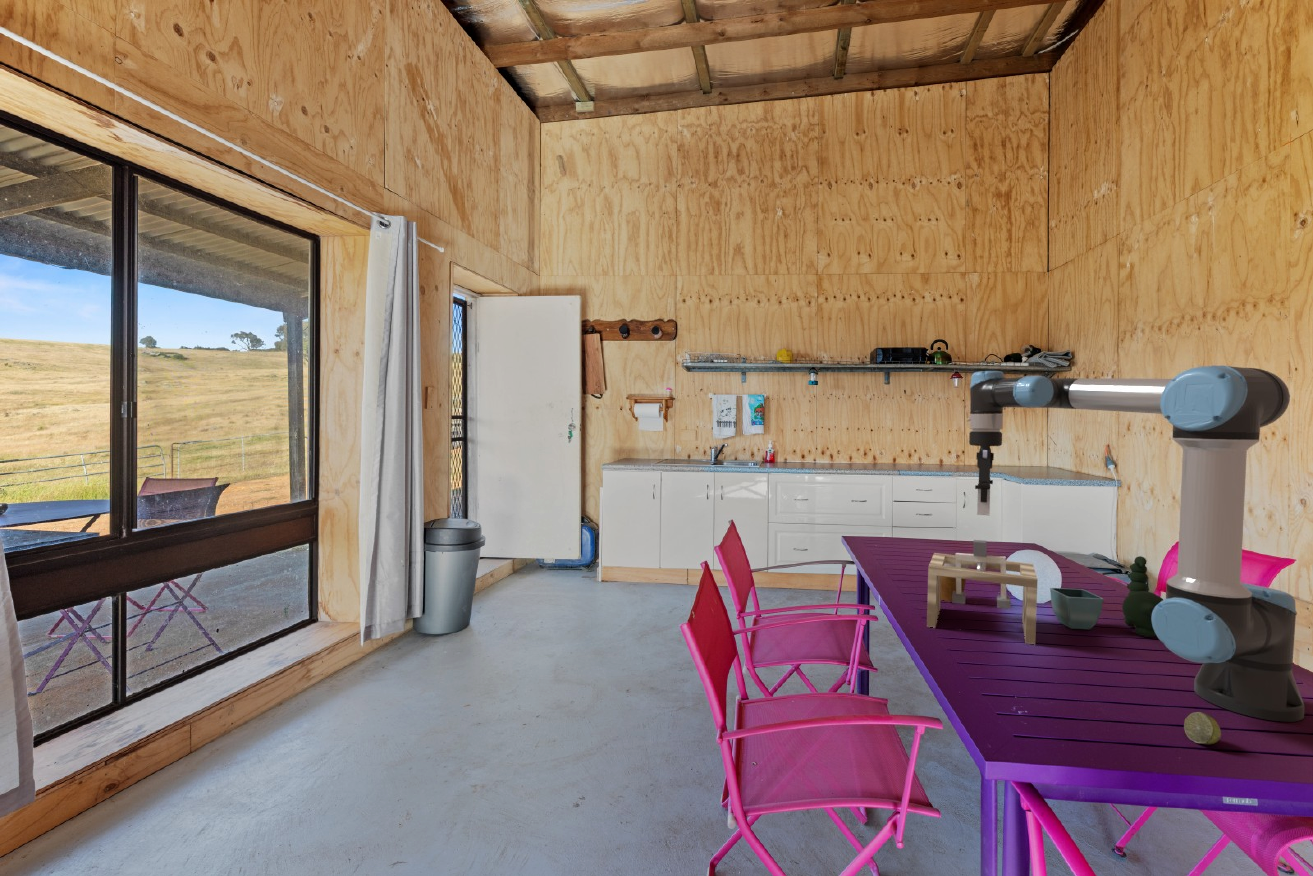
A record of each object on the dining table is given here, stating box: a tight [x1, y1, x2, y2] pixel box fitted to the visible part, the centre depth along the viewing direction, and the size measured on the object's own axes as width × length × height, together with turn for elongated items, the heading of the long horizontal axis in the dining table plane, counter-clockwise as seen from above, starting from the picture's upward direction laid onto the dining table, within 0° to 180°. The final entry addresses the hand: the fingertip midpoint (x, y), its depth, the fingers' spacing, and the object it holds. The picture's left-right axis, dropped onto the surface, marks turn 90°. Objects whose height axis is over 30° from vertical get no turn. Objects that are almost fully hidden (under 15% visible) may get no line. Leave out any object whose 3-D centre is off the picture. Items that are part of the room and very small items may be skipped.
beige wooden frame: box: [926, 552, 1039, 646], centre depth 157 cm, size 18×24×17 cm
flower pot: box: [1049, 587, 1104, 630], centre depth 156 cm, size 9×9×9 cm
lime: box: [1183, 711, 1222, 745], centre depth 101 cm, size 4×5×5 cm
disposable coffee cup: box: [941, 563, 970, 603], centre depth 178 cm, size 10×10×12 cm
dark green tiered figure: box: [1121, 555, 1164, 639], centre depth 154 cm, size 9×19×25 cm
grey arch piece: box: [951, 539, 1012, 610], centre depth 156 cm, size 5×13×16 cm, turn 61°
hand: (983, 511), depth 156 cm, fingers open, 13 cm apart
